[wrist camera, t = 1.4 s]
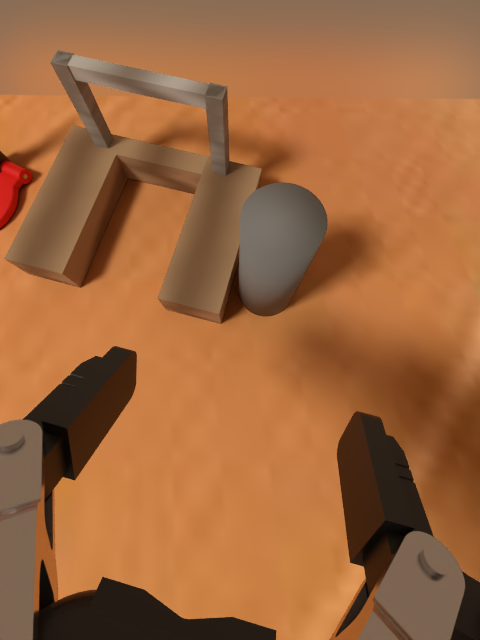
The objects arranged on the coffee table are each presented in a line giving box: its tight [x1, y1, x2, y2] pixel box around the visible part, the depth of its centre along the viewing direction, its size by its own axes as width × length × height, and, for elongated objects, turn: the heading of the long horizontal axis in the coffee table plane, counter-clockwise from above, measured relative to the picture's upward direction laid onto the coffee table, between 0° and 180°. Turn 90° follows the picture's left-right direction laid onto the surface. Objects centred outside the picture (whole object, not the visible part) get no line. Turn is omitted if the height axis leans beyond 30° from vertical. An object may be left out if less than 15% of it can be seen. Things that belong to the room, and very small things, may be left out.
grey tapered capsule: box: [239, 183, 327, 316], centre depth 22 cm, size 5×5×11 cm
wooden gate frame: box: [4, 50, 262, 324], centre depth 24 cm, size 18×14×10 cm
